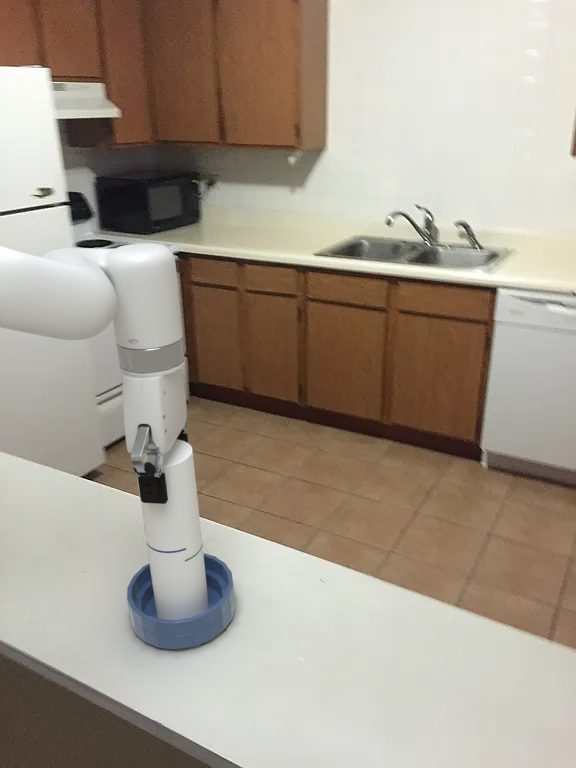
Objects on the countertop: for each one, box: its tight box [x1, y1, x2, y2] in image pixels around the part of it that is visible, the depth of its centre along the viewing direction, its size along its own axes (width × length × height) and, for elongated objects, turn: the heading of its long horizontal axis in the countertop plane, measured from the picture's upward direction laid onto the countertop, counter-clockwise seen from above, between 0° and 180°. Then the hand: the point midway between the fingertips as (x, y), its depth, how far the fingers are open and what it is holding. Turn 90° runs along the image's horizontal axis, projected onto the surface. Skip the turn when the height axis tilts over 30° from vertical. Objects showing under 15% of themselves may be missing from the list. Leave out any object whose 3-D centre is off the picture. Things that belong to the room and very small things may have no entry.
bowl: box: [126, 552, 236, 650], centre depth 92 cm, size 14×14×5 cm
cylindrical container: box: [136, 439, 209, 620], centre depth 87 cm, size 7×7×25 cm
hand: (166, 480), depth 84 cm, fingers open, 9 cm apart
